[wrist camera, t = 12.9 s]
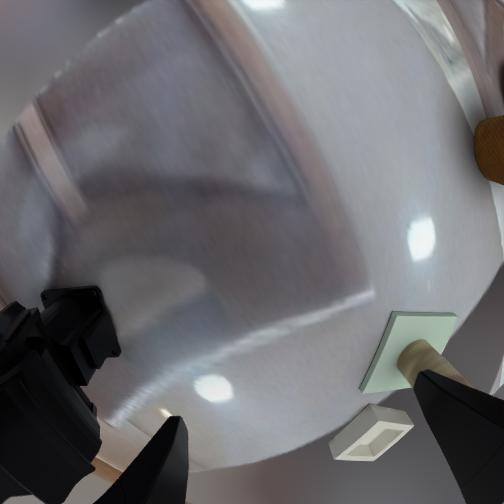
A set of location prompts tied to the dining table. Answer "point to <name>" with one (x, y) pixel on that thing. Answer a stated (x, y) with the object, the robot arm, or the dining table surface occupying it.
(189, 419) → the dining table surface
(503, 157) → the disposable coffee cup
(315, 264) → the dining table surface
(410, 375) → the pepper mill
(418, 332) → the plate
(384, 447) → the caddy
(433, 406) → the robot arm
